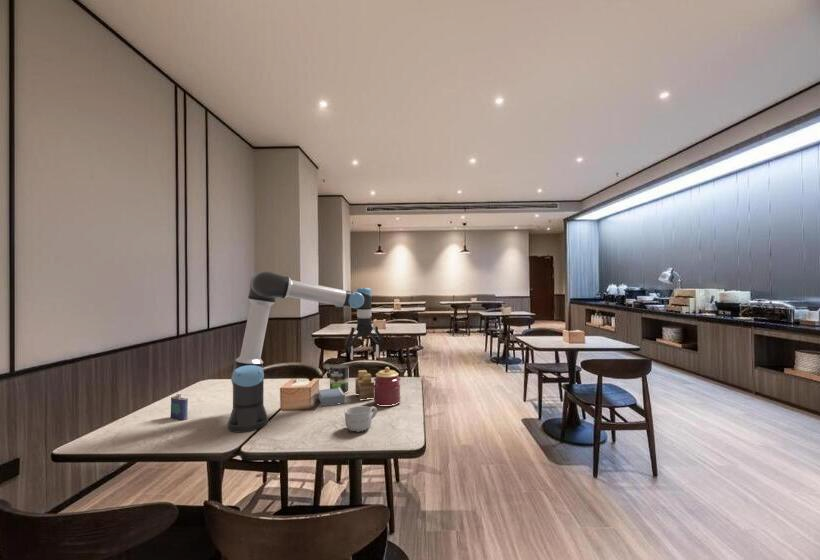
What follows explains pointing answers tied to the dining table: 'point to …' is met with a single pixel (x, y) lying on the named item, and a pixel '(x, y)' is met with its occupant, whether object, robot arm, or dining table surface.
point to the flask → (179, 408)
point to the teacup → (359, 417)
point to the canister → (387, 387)
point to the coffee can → (339, 377)
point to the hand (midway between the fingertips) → (364, 358)
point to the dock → (331, 396)
